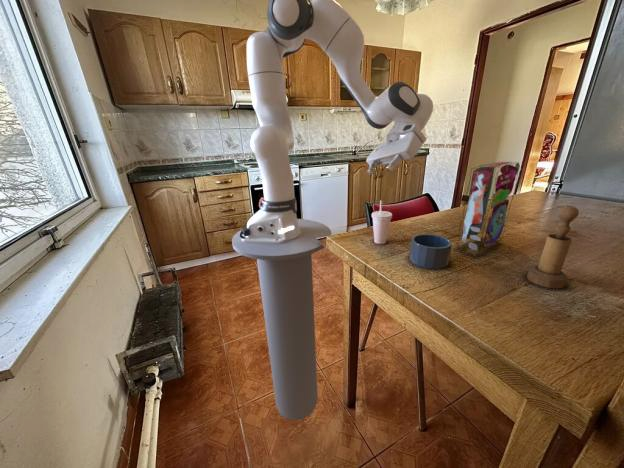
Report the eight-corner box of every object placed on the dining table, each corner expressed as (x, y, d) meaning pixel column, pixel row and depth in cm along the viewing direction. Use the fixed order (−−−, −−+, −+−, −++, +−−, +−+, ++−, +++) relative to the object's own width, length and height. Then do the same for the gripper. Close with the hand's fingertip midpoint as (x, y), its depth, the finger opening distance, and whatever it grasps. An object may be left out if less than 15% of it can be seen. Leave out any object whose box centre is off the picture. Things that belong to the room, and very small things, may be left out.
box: (492, 231, 89) (509, 158, 80) (513, 236, 84) (533, 159, 75) (455, 251, 76) (470, 166, 67) (477, 258, 71) (497, 168, 62)
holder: (417, 269, 67) (419, 248, 64) (404, 253, 76) (406, 234, 74) (455, 268, 67) (459, 247, 64) (438, 252, 76) (441, 233, 73)
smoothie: (366, 239, 86) (368, 199, 81) (382, 236, 88) (385, 197, 83) (377, 247, 81) (379, 203, 75) (394, 243, 82) (398, 201, 77)
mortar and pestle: (540, 272, 63) (564, 201, 57) (571, 286, 57) (602, 208, 51) (519, 276, 62) (541, 204, 55) (549, 291, 56) (577, 212, 49)
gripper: (374, 139, 92) (354, 168, 90) (419, 122, 74) (395, 159, 72) (385, 151, 95) (365, 180, 93) (431, 138, 76) (408, 174, 74)
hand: (378, 171), depth 82 cm, fingers open, 8 cm apart
